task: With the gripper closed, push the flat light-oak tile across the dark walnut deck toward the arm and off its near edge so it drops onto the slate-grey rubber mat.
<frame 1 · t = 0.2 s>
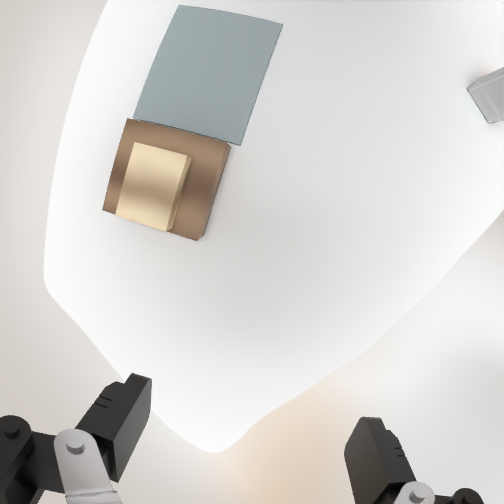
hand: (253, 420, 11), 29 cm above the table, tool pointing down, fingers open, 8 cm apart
grey mat: (207, 67, 34), on the table
skincare box: (483, 99, 33), on the table
walnut deck: (170, 177, 37), on the table
oak tile: (157, 185, 34), point 4 cm above the table, touching walnut deck
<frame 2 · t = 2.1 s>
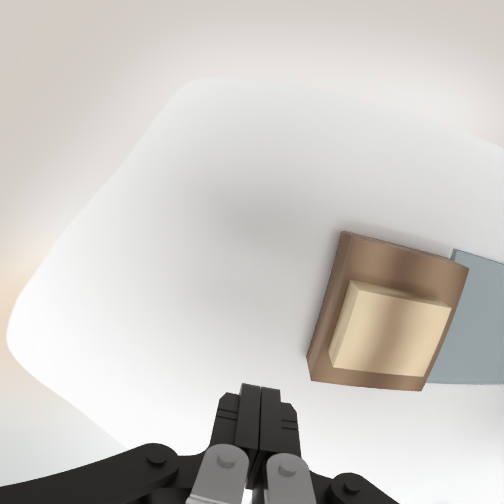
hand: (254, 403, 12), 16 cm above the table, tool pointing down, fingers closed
grey mat: (488, 327, 27), on the table
walnut deck: (380, 308, 27), on the table
oak tile: (385, 324, 24), point 4 cm above the table, touching walnut deck
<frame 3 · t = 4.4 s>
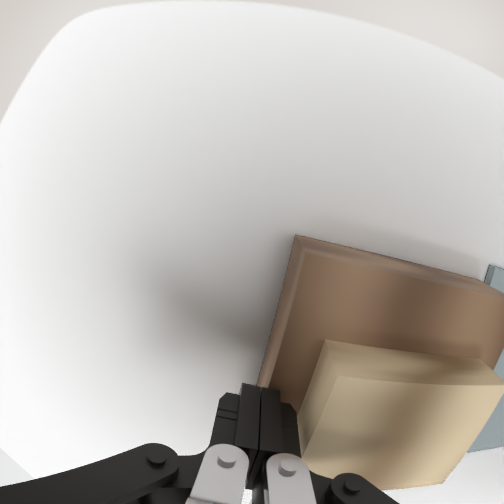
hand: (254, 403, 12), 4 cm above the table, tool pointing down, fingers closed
walnut deck: (364, 365, 16), on the table
oak tile: (387, 409, 12), point 4 cm above the table, touching gripper, walnut deck
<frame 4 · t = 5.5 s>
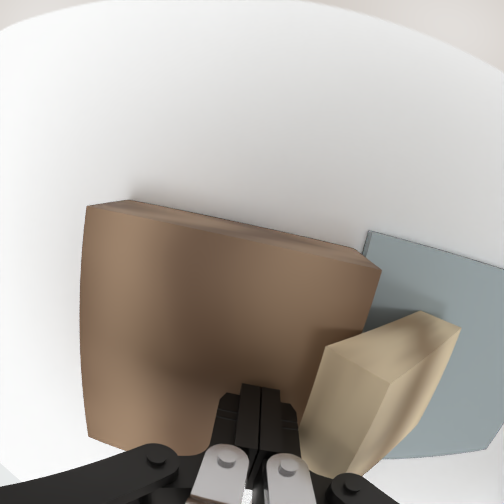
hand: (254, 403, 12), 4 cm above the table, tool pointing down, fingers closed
grey mat: (451, 373, 16), on the table
walnut deck: (215, 338, 16), on the table
oak tile: (363, 384, 13), point 3 cm above the table, tilted 40°, touching grey mat, gripper
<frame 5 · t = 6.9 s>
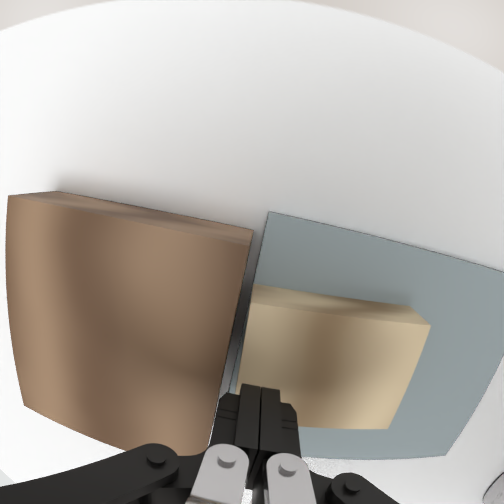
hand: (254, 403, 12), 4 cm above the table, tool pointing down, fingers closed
grey mat: (387, 369, 16), on the table
walnut deck: (129, 318, 16), on the table
oak tile: (322, 351, 15), point 1 cm above the table, touching grey mat
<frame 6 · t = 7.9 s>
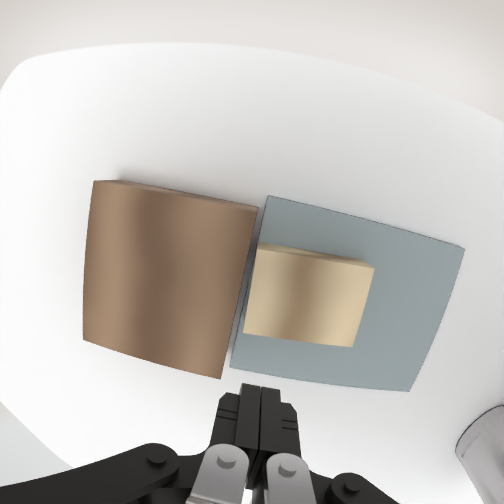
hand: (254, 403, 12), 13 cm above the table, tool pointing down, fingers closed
grey mat: (352, 308, 25), on the table
walnut deck: (171, 269, 24), on the table
oak tile: (304, 290, 24), point 1 cm above the table, touching grey mat
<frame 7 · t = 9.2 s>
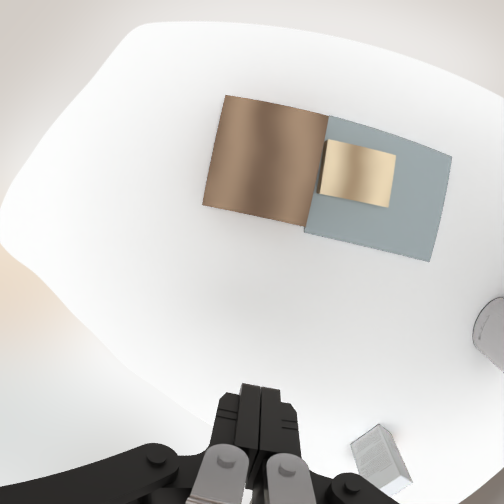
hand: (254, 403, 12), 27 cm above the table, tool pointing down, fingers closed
grey mat: (383, 190, 36), on the table
skincare box: (371, 437, 44), on the table
walnut deck: (265, 161, 36), on the table
oak tile: (353, 174, 35), point 1 cm above the table, touching grey mat
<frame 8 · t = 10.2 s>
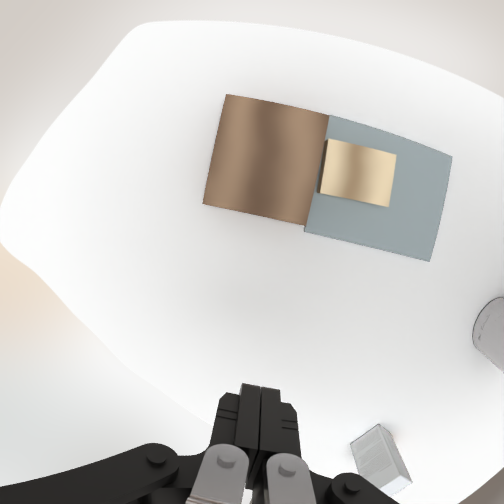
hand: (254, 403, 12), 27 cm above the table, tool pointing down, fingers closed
grey mat: (384, 190, 36), on the table
skincare box: (370, 437, 44), on the table
walnut deck: (266, 160, 36), on the table
oak tile: (354, 173, 35), point 1 cm above the table, touching grey mat
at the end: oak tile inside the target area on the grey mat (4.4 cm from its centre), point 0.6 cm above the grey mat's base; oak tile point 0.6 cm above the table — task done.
